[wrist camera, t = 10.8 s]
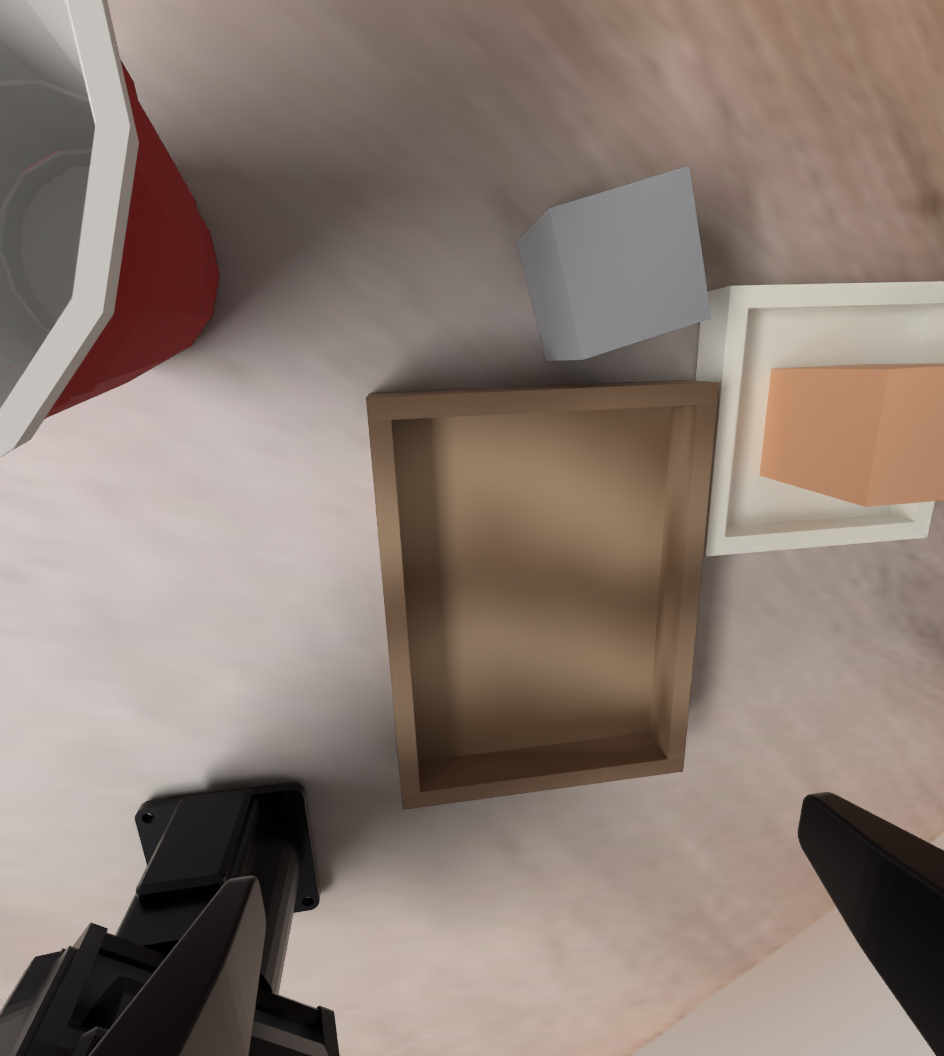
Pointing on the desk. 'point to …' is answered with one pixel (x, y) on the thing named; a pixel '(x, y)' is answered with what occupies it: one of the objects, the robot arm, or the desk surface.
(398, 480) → the walnut box
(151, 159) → the plastic cup
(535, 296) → the slate rubber block
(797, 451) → the terracotta block
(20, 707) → the desk surface
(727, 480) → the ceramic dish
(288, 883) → the robot arm
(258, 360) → the desk surface
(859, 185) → the desk surface
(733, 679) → the desk surface
